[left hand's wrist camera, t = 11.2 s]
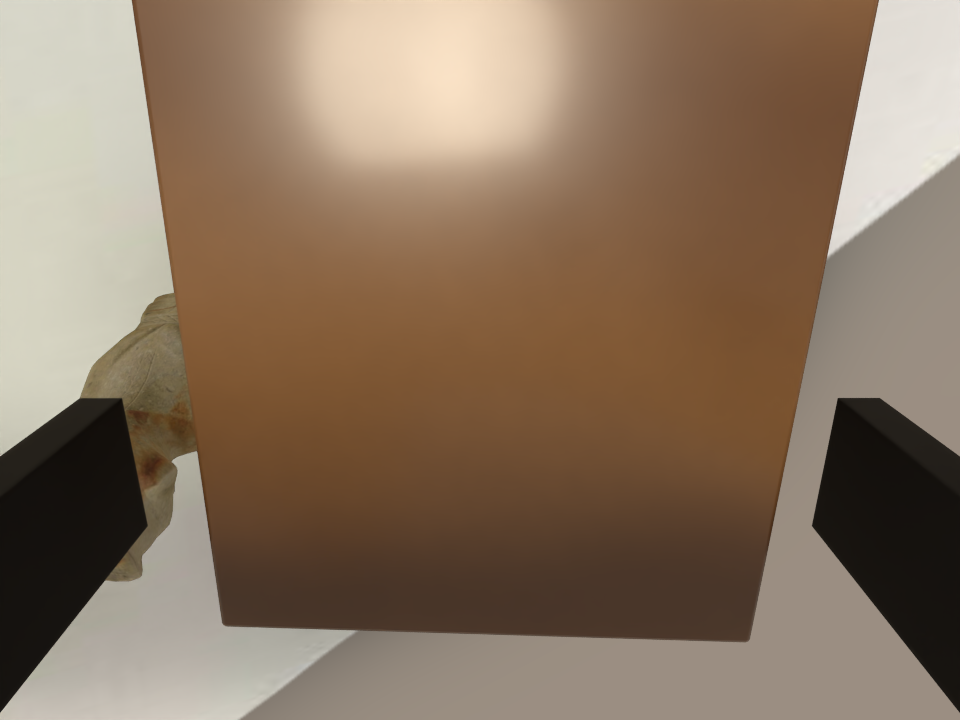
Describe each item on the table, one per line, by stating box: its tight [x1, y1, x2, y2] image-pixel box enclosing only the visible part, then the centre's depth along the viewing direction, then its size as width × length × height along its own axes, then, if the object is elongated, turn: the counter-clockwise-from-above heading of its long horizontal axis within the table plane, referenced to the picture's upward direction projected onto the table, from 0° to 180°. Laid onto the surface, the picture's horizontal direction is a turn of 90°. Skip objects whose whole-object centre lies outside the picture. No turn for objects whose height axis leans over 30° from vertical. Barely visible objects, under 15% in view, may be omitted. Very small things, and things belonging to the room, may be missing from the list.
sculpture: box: [80, 293, 197, 581], centre depth 27 cm, size 6×7×15 cm
